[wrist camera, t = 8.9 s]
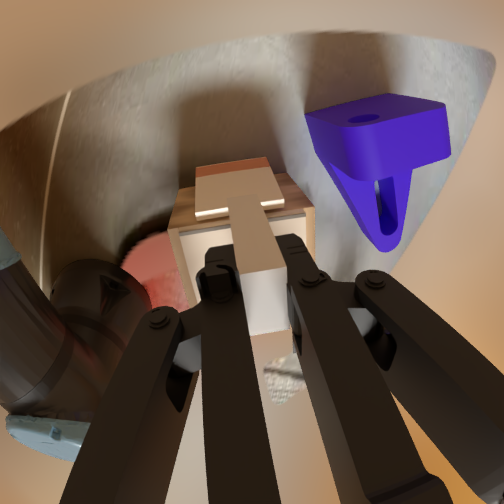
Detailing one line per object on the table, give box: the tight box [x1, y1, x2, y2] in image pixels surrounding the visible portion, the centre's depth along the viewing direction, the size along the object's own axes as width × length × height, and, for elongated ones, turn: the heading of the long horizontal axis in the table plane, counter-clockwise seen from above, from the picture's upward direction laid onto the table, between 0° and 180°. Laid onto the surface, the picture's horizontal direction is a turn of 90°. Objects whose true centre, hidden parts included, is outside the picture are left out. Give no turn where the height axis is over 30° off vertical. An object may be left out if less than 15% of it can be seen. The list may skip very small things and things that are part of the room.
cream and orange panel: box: [195, 157, 284, 221], centre depth 27 cm, size 7×8×1 cm
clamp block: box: [167, 173, 315, 308], centre depth 30 cm, size 12×9×11 cm
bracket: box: [304, 93, 451, 252], centre depth 29 cm, size 18×11×12 cm, turn 19°
